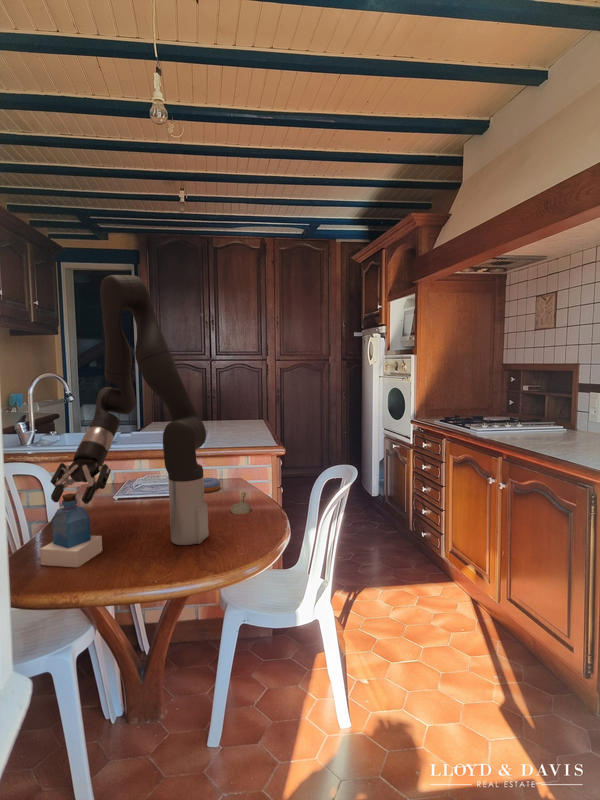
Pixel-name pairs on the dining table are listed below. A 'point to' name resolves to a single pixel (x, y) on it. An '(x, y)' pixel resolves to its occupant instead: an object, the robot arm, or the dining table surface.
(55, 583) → the dining table surface
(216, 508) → the dining table surface
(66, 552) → the plinth
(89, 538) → the perfume bottle
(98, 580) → the dining table surface
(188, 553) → the dining table surface
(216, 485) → the doughnut
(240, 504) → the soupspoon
